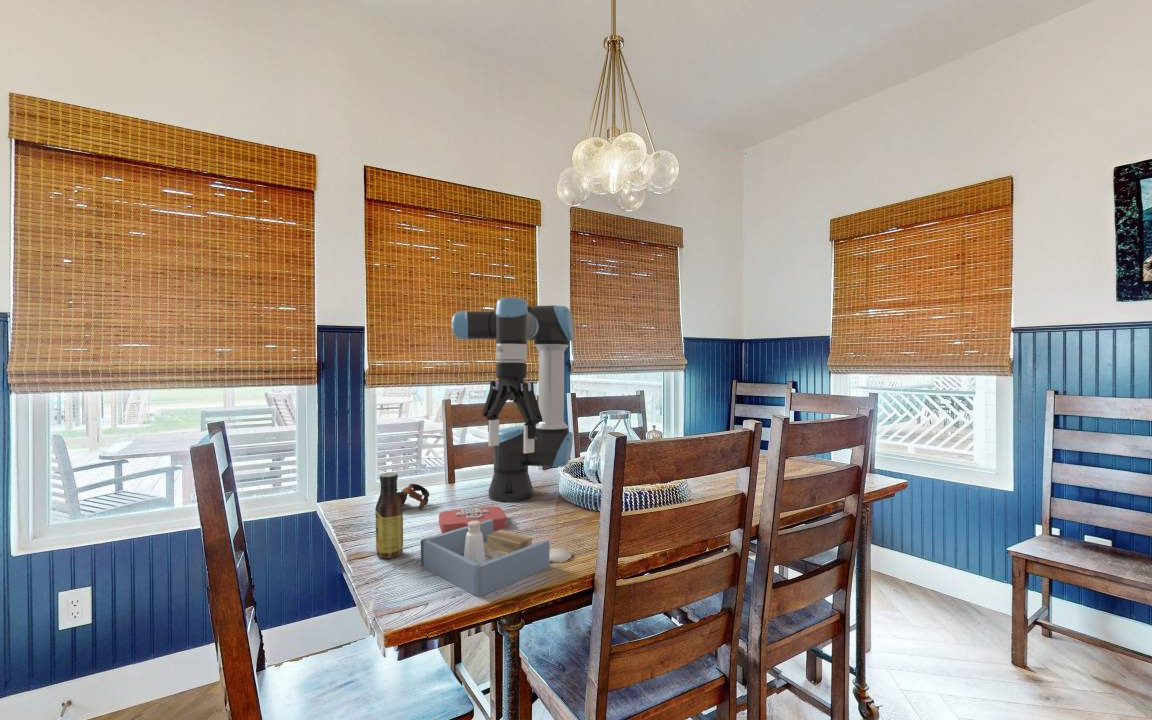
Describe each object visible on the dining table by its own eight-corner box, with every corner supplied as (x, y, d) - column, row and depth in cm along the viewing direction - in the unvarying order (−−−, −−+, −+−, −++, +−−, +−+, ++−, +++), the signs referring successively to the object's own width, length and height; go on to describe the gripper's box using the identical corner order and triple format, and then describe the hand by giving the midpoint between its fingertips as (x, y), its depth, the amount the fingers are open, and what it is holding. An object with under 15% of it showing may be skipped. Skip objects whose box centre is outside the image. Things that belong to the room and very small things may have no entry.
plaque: (443, 526, 136) (438, 509, 150) (443, 540, 136) (438, 523, 150) (510, 519, 142) (499, 503, 156) (510, 532, 142) (499, 516, 156)
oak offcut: (500, 540, 128) (500, 529, 128) (532, 549, 123) (531, 537, 123) (487, 547, 124) (486, 535, 124) (519, 556, 119) (518, 544, 119)
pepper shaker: (457, 573, 115) (457, 524, 115) (470, 563, 120) (470, 517, 120) (478, 577, 113) (478, 527, 113) (490, 567, 118) (490, 519, 118)
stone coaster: (557, 548, 130) (557, 546, 130) (577, 556, 125) (577, 553, 125) (536, 556, 125) (536, 554, 125) (557, 564, 120) (557, 562, 120)
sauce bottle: (382, 549, 129) (382, 470, 128) (407, 550, 128) (406, 470, 128) (371, 560, 122) (370, 476, 122) (397, 560, 122) (396, 477, 121)
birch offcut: (497, 549, 130) (497, 538, 130) (533, 564, 122) (533, 551, 121) (482, 555, 126) (482, 543, 126) (517, 571, 118) (517, 558, 118)
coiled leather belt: (408, 502, 169) (420, 481, 169) (424, 520, 165) (438, 498, 164) (379, 502, 159) (393, 480, 159) (396, 521, 154) (410, 498, 154)
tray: (490, 542, 134) (490, 519, 134) (549, 566, 119) (549, 541, 119) (420, 565, 119) (420, 539, 119) (478, 597, 104) (478, 567, 104)
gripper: (469, 361, 132) (468, 444, 132) (533, 362, 114) (532, 457, 114) (492, 361, 137) (492, 441, 137) (557, 362, 120) (557, 453, 120)
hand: (510, 449), depth 126 cm, fingers open, 13 cm apart
